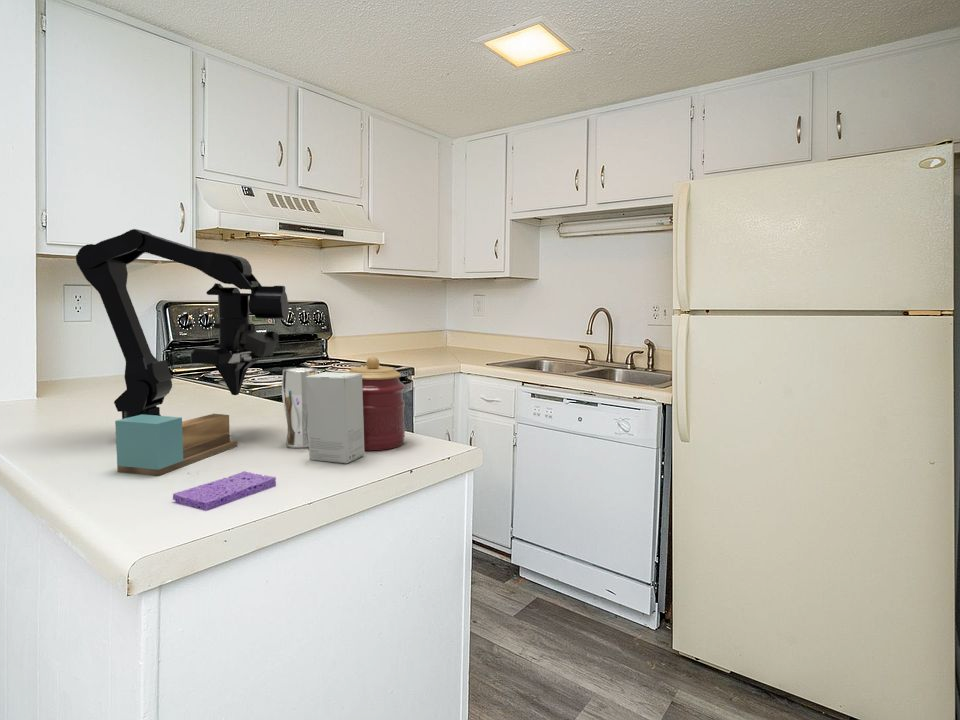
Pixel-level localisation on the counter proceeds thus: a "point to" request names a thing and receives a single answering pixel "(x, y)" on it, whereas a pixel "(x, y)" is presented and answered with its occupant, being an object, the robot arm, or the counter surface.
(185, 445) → the wooden block
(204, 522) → the counter surface
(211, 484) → the sponges
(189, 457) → the board
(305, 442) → the silver tall cylinder
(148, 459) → the end cap
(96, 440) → the counter surface
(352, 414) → the skincare box
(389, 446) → the canister
